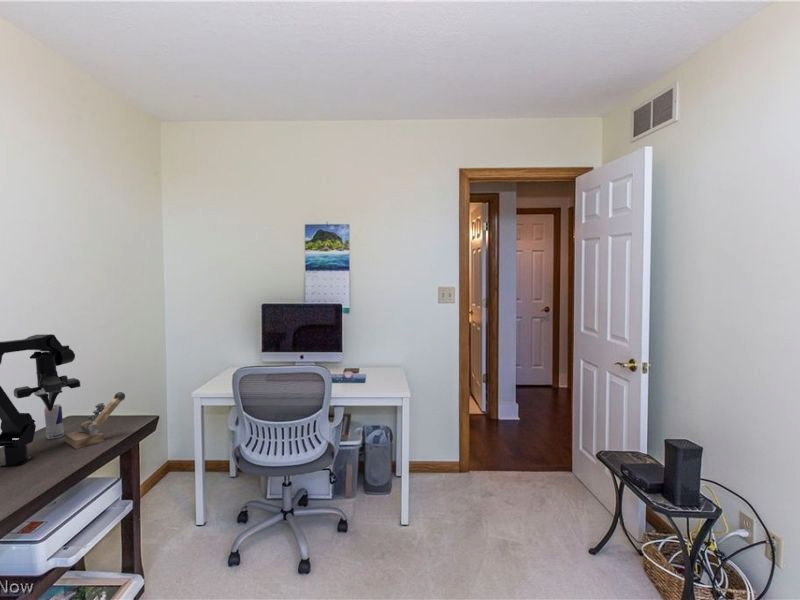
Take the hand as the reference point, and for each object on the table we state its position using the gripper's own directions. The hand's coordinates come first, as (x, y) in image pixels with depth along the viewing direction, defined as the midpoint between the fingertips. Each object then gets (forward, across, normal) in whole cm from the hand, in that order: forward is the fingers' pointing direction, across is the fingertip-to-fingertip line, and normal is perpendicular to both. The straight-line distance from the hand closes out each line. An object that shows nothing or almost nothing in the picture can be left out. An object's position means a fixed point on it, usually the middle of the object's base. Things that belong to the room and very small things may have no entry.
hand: (50, 410), depth 169 cm
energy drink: (+13, +3, +10) cm, 17 cm away
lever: (+8, +10, -8) cm, 16 cm away
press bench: (+13, +8, -6) cm, 17 cm away
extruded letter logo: (+14, +20, +19) cm, 31 cm away
